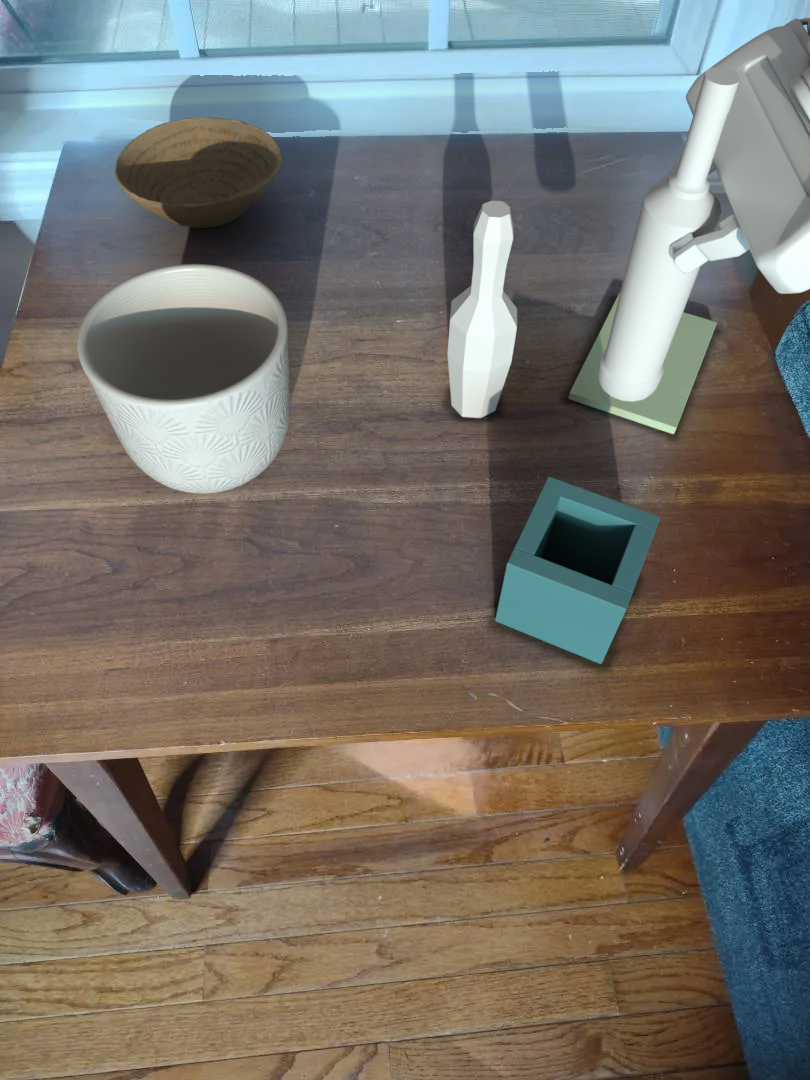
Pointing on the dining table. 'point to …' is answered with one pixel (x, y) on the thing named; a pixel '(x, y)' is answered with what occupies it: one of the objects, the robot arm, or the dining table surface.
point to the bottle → (666, 252)
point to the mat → (673, 386)
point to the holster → (585, 546)
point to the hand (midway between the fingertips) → (665, 232)
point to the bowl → (199, 169)
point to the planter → (191, 373)
